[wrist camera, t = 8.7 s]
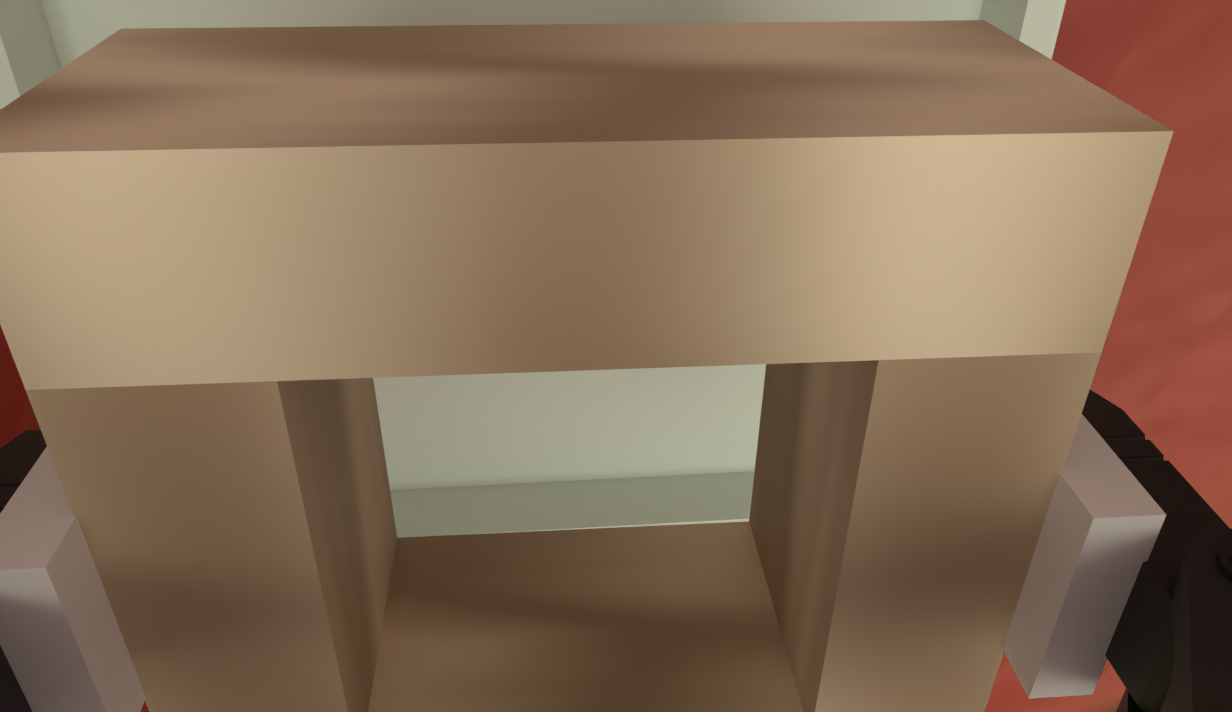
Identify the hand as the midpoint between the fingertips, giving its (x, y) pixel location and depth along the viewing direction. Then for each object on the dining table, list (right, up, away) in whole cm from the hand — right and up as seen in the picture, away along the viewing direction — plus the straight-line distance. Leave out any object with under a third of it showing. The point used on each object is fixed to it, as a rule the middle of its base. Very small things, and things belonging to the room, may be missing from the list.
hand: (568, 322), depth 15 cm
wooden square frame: (0, -1, -2) cm, 2 cm away
